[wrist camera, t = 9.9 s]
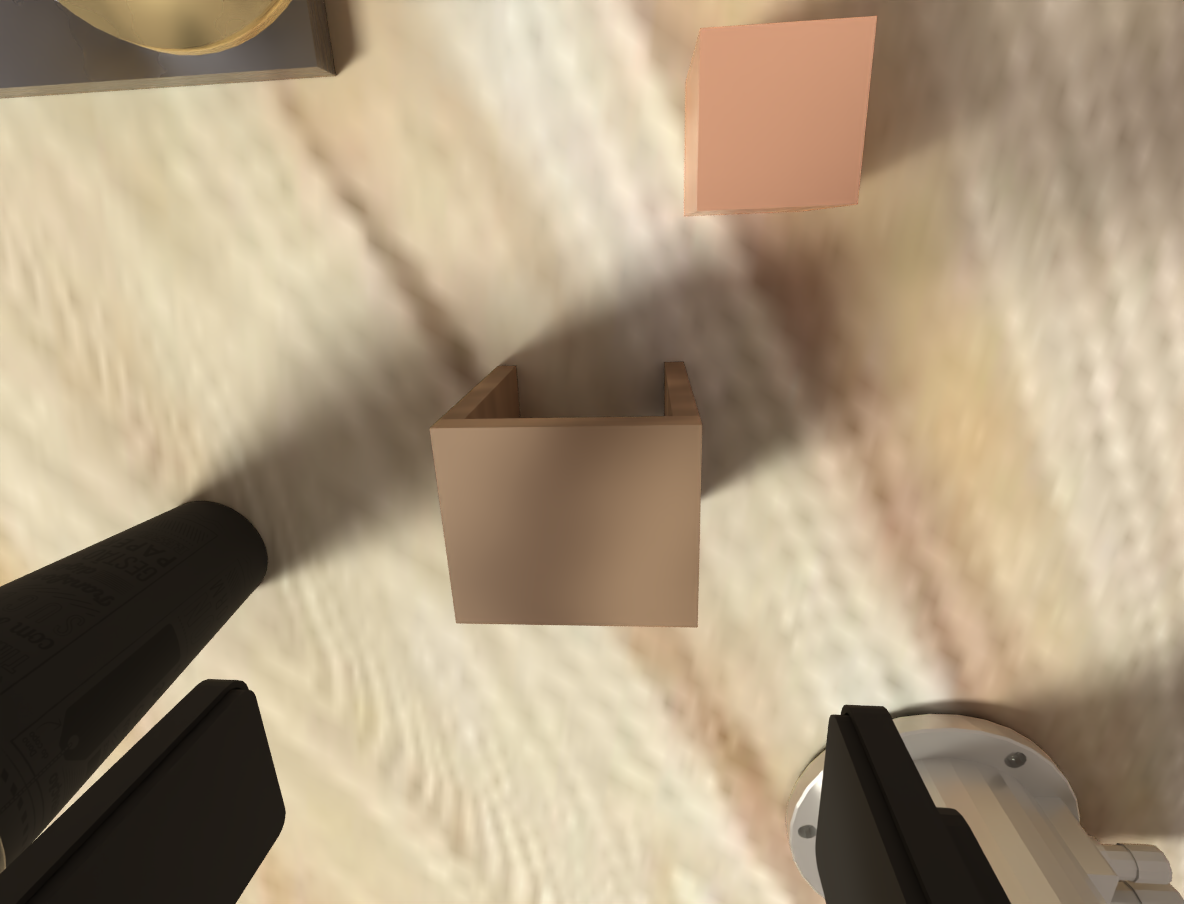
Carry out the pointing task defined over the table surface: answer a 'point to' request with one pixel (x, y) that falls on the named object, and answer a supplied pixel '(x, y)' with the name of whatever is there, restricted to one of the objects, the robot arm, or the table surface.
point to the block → (777, 116)
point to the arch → (570, 510)
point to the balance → (158, 44)
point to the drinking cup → (107, 649)
